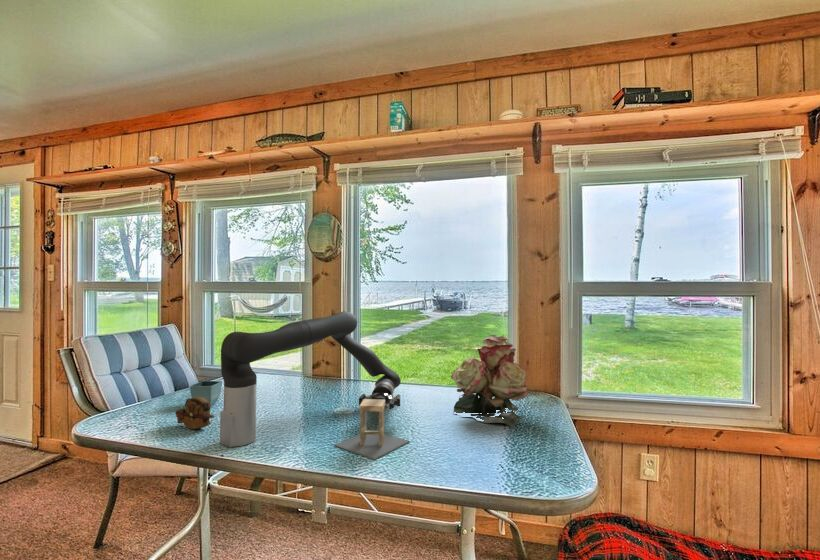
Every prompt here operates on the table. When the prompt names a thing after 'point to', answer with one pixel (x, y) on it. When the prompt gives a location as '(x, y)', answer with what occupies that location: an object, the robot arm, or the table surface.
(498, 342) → the rose bouquet
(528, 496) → the table surface
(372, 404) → the pine stool
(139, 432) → the table surface
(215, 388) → the flower pot
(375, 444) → the charcoal mat
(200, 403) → the wooden carving
